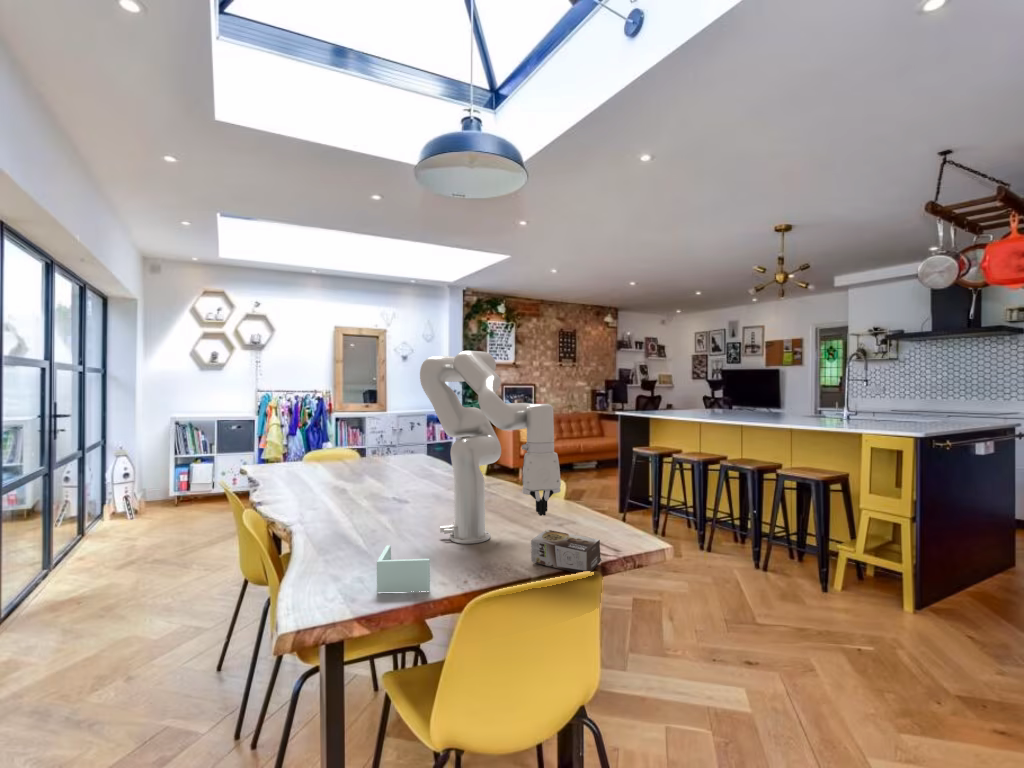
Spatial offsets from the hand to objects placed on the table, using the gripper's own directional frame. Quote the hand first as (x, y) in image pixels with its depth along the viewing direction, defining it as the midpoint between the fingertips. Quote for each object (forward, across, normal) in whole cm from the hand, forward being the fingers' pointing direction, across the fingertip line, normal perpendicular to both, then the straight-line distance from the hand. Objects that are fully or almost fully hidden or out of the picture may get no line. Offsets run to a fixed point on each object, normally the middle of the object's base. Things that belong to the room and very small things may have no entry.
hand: (541, 514), depth 140 cm
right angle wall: (+12, -36, -13) cm, 40 cm away
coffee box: (+8, -2, -2) cm, 8 cm away
